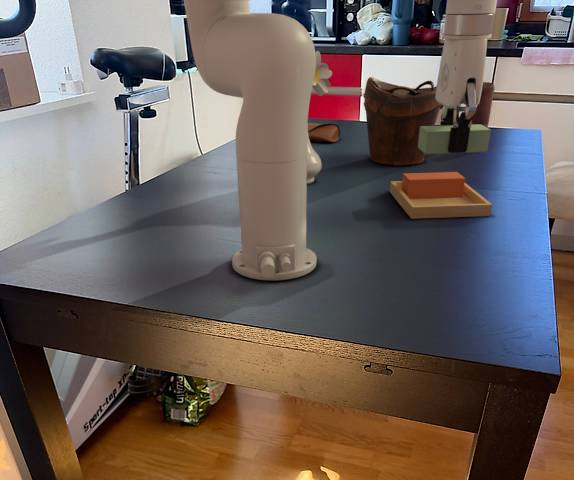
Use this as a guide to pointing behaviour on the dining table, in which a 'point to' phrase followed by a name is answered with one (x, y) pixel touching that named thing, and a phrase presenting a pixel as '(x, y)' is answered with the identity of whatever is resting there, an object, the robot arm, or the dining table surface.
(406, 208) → the wooden tray
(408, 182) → the pad terracotta
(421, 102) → the wooden bucket
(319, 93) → the flower vase
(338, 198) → the dining table surface
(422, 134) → the pad sage
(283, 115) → the robot arm
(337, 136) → the sunglasses case
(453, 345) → the dining table surface
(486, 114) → the can
